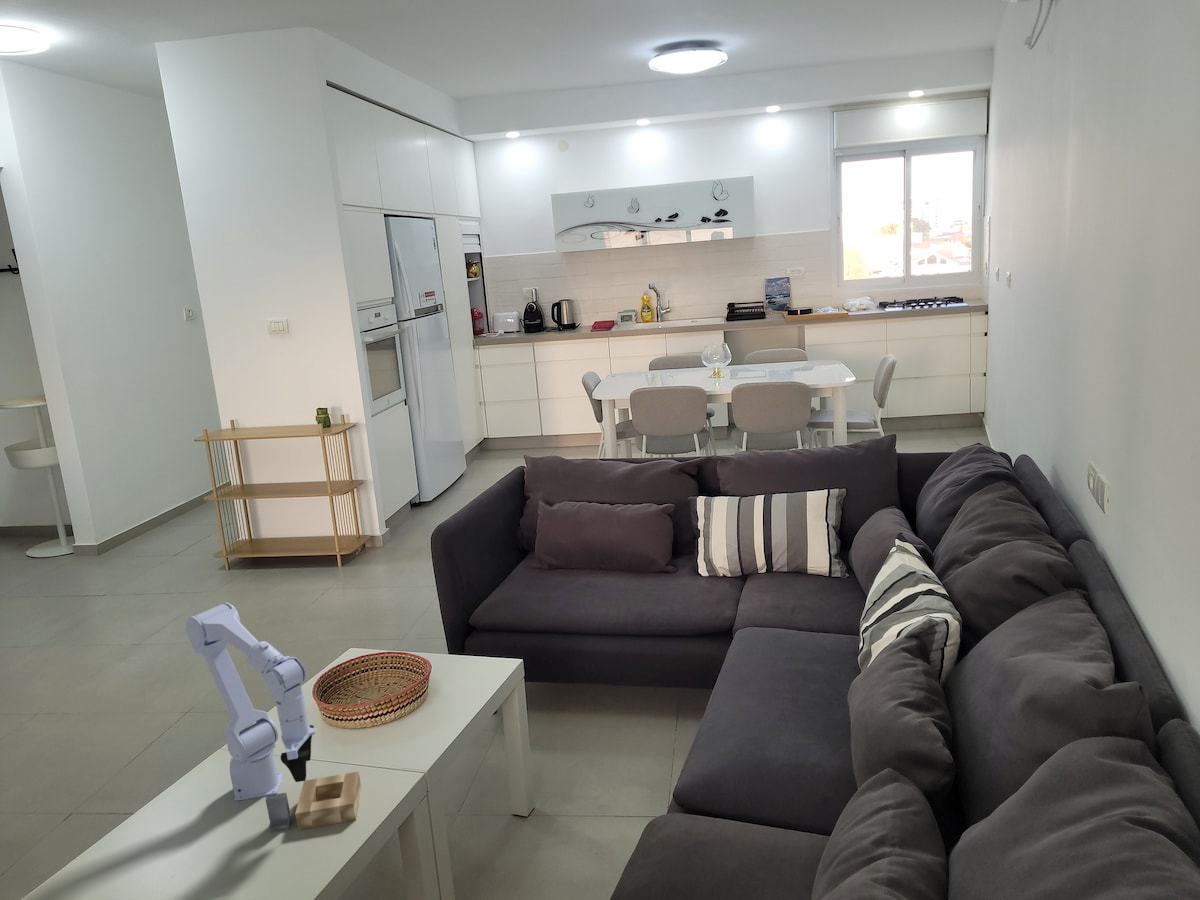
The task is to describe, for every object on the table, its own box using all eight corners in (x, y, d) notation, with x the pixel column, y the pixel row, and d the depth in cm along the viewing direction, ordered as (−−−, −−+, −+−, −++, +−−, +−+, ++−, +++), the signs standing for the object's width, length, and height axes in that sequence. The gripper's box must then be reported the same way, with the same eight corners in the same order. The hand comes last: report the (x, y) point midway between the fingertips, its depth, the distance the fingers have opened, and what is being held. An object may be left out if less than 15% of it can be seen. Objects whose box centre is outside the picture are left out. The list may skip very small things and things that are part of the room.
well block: (298, 830, 189) (295, 813, 188) (307, 796, 201) (304, 780, 200) (356, 819, 191) (353, 803, 190) (361, 786, 203) (358, 771, 202)
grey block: (270, 832, 189) (264, 803, 188) (273, 820, 193) (268, 792, 192) (289, 828, 190) (283, 800, 188) (292, 817, 194) (287, 789, 192)
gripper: (307, 728, 185) (318, 786, 188) (316, 694, 198) (325, 748, 202) (272, 735, 183) (283, 792, 187) (283, 700, 197) (293, 754, 201)
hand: (303, 770), depth 194 cm, fingers open, 7 cm apart
